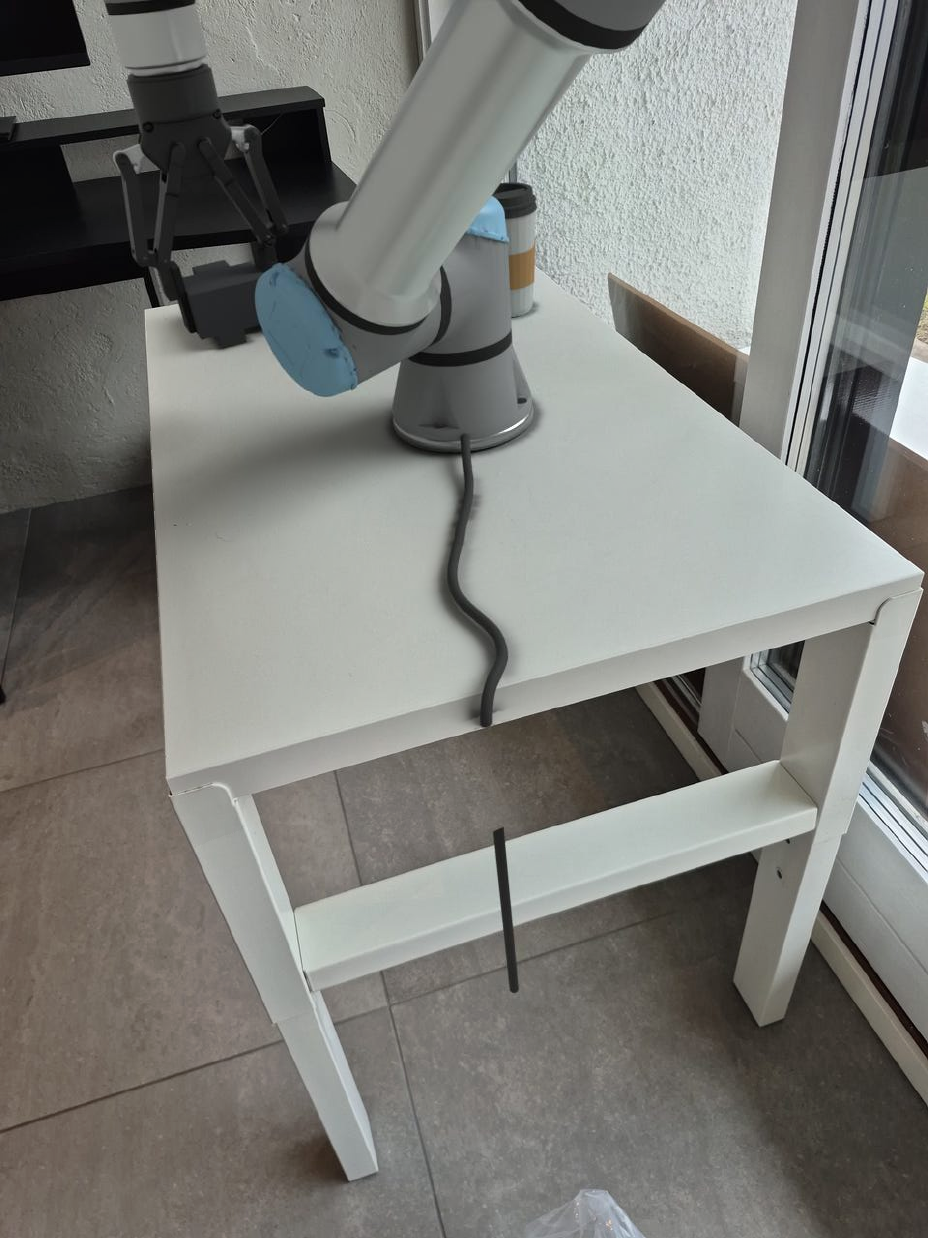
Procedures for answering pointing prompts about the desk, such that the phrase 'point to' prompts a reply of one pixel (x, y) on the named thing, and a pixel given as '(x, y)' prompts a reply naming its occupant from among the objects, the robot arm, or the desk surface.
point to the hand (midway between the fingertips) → (231, 318)
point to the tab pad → (222, 297)
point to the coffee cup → (519, 242)
